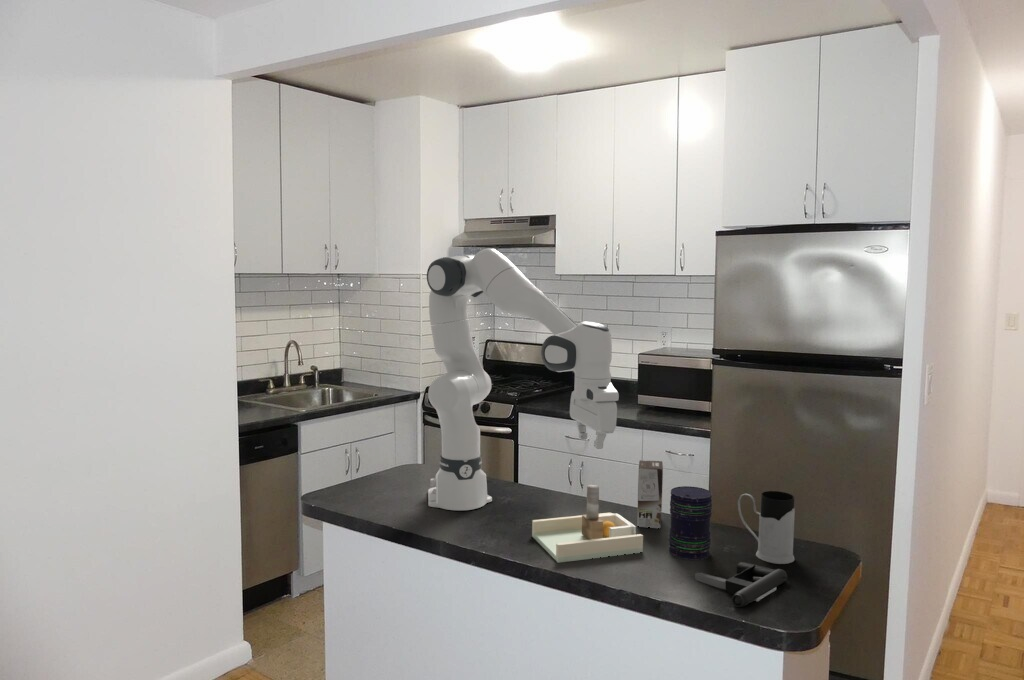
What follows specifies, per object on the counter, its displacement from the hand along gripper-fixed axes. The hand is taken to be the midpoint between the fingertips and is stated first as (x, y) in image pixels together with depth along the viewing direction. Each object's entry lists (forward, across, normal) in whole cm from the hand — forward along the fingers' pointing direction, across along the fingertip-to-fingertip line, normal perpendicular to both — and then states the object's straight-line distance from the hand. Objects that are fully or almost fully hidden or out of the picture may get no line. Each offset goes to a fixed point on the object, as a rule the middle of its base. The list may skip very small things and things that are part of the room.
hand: (590, 443), depth 185 cm
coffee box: (+25, -9, +22) cm, 35 cm away
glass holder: (+25, +19, +38) cm, 49 cm away
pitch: (+25, +1, -1) cm, 25 cm away
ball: (+22, +1, +5) cm, 23 cm away
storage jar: (+25, +13, +21) cm, 35 cm away
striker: (+24, +1, +1) cm, 24 cm away
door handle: (+25, +33, +21) cm, 47 cm away
